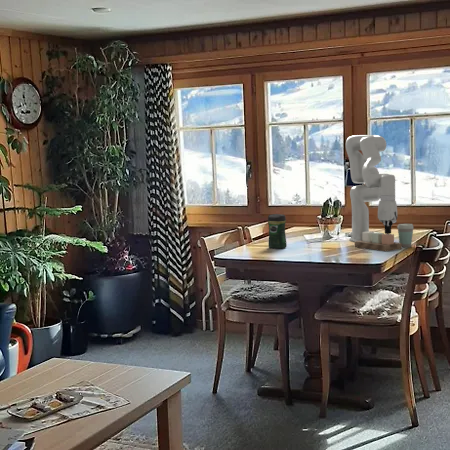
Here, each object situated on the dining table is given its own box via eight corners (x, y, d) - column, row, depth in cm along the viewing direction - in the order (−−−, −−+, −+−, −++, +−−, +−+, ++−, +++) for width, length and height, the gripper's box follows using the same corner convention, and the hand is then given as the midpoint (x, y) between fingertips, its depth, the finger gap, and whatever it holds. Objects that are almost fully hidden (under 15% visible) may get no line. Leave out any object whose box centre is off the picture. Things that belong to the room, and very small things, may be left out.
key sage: (371, 242, 357) (371, 233, 356) (377, 241, 359) (377, 232, 359) (378, 243, 353) (378, 234, 353) (383, 242, 356) (383, 233, 355)
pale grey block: (362, 241, 363) (362, 232, 362) (368, 240, 365) (368, 231, 364) (368, 242, 359) (368, 232, 358) (374, 241, 361) (374, 232, 361)
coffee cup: (414, 247, 352) (414, 225, 351) (397, 247, 354) (397, 225, 353) (413, 245, 361) (413, 223, 359) (396, 245, 362) (396, 223, 361)
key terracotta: (381, 243, 351) (381, 234, 350) (387, 243, 353) (387, 233, 353) (388, 244, 347) (388, 235, 347) (394, 243, 350) (394, 234, 349)
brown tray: (355, 246, 362) (355, 241, 362) (370, 244, 369) (370, 239, 369) (385, 251, 344) (385, 245, 344) (401, 248, 351) (401, 243, 350)
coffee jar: (288, 247, 368) (288, 213, 365) (281, 249, 361) (280, 215, 359) (274, 246, 373) (273, 213, 371) (266, 248, 367) (265, 214, 365)
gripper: (372, 198, 352) (372, 233, 354) (393, 199, 339) (393, 235, 341) (382, 197, 356) (382, 231, 358) (403, 198, 343) (404, 234, 345)
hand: (388, 233), depth 350 cm, fingers closed
